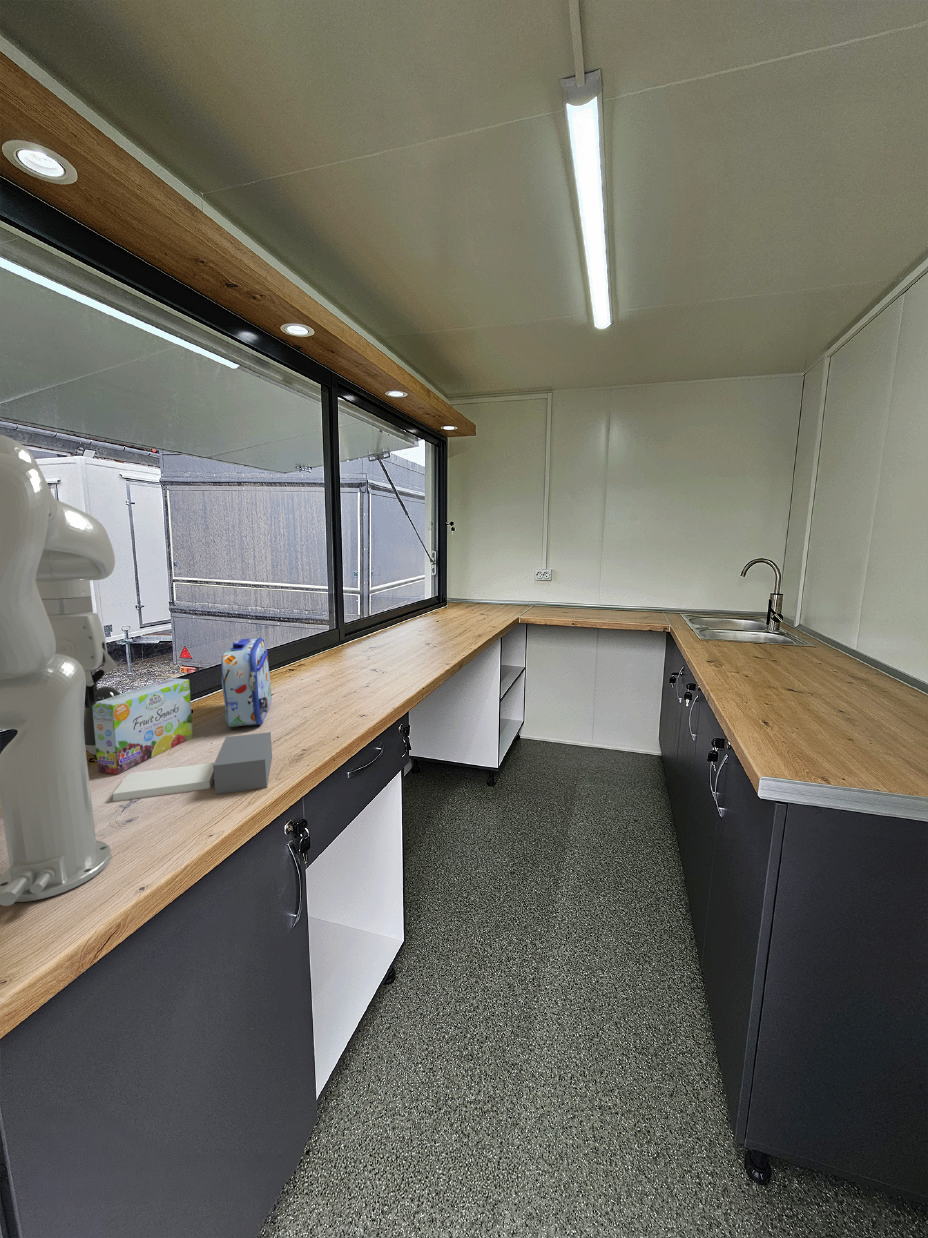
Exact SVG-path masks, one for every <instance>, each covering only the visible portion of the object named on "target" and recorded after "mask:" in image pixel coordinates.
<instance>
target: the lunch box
mask: <svg viewBox="0 0 928 1238" xmlns="http://www.w3.org/2000/svg"><path fill="white" fill-rule="evenodd" d="M268 659H269V658H268V650H267V649H266V644H265V639H264V638H263V637H258V638H241V639H236V640H235V641H234V642H233V643H232V645H230V646H229V648H228V649H227V650H226V651H224V652H223V655H222V657H221V661H220V662H221V664H220V665H221V666H220V667H221V687H222V693H223V694H222V695H223V701H224V706H225V707H224V709H225V713H224V714H225V721H226V723H227V726H228V728H233V727H244V726H256V725H258V726H260V725H262V724H263V723H264V721H265V719H266V716H267V714H268V712H269V711H270V707H271V703H272V700H273V699H272V688H271V675H270V667H269V660H268Z"/></svg>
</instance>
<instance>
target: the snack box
mask: <svg viewBox="0 0 928 1238" xmlns="http://www.w3.org/2000/svg"><path fill="white" fill-rule="evenodd" d="M92 710H93V721H94V732H95V743H96V754H97V755H96V765H97V772H98V773H104V774H105V773H106V774H112V775H120V774H121V773H124V772H125V771H128V770H129V769H131V768H134V767H136V766H137V765H139V764H142V763H144V762H146V761H149V760H150V759H151V758H152V759H153V758H154V757H156V756H158V755H160V754H162V753H165V752H166V751H168V750H170V749H172V748H175V747H176V746H179V745H181V744H183V743H185V742H187V741H189V740H191V739H193V738H194V737H193V734H194V733H193V722H192V721H193V720H192V719H193V718H192V717H193V716H192V704H191V689H190V679H188V678H187V679H186V678H172V677H171V678H167V679H164V680H161V681H158V682H155V683H152V684H149V685H145V686H143V687H139V688H136V689H133V690H130V691H126V692H124V693H120V695H117V696H113V697H110V698H107V699H104V700H101V701H98V702H96V704H94V705H93V706H92Z"/></svg>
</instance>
